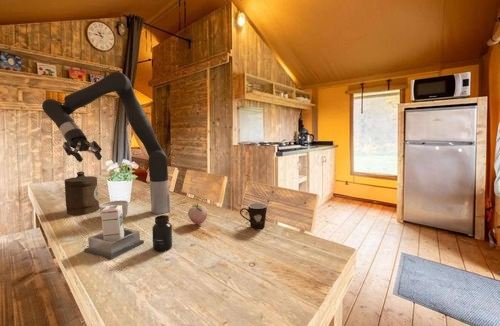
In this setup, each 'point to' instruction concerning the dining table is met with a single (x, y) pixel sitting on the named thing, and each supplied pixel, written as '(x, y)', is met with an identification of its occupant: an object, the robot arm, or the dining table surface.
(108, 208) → the syrup box
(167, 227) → the supplement bottle
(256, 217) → the coffee mug
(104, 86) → the robot arm
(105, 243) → the collar
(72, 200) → the wooden container
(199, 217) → the decorative fruit
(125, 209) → the ramekin
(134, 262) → the dining table surface
